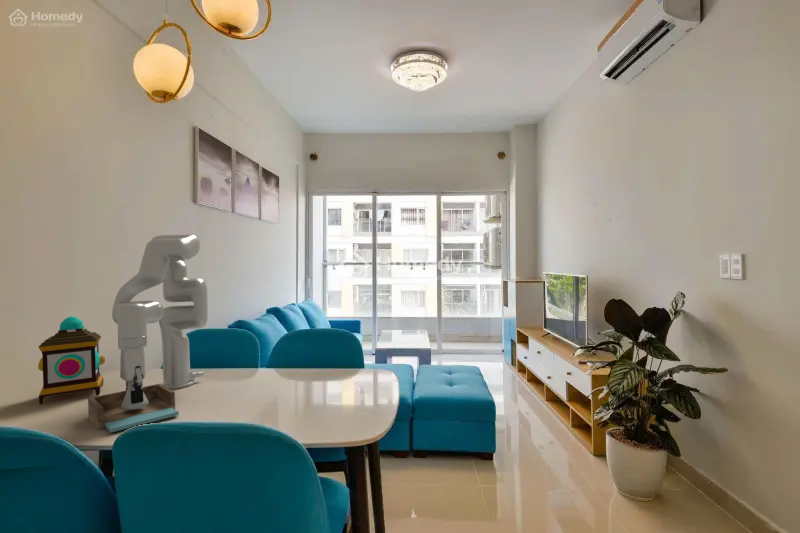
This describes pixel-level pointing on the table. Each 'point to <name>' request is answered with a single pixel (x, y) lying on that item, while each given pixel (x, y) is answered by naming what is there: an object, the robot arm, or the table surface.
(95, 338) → the decorative lantern
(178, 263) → the robot arm
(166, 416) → the teal panel
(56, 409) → the table surface
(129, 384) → the flask
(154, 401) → the crate
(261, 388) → the table surface
